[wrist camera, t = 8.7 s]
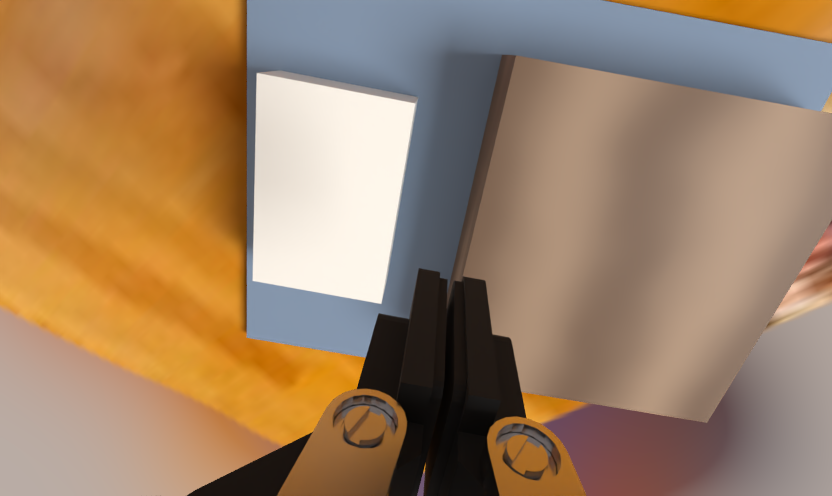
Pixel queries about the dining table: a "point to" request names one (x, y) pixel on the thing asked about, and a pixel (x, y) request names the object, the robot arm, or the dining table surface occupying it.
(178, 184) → the dining table surface
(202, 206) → the dining table surface
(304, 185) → the tile
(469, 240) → the block
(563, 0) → the placemat
